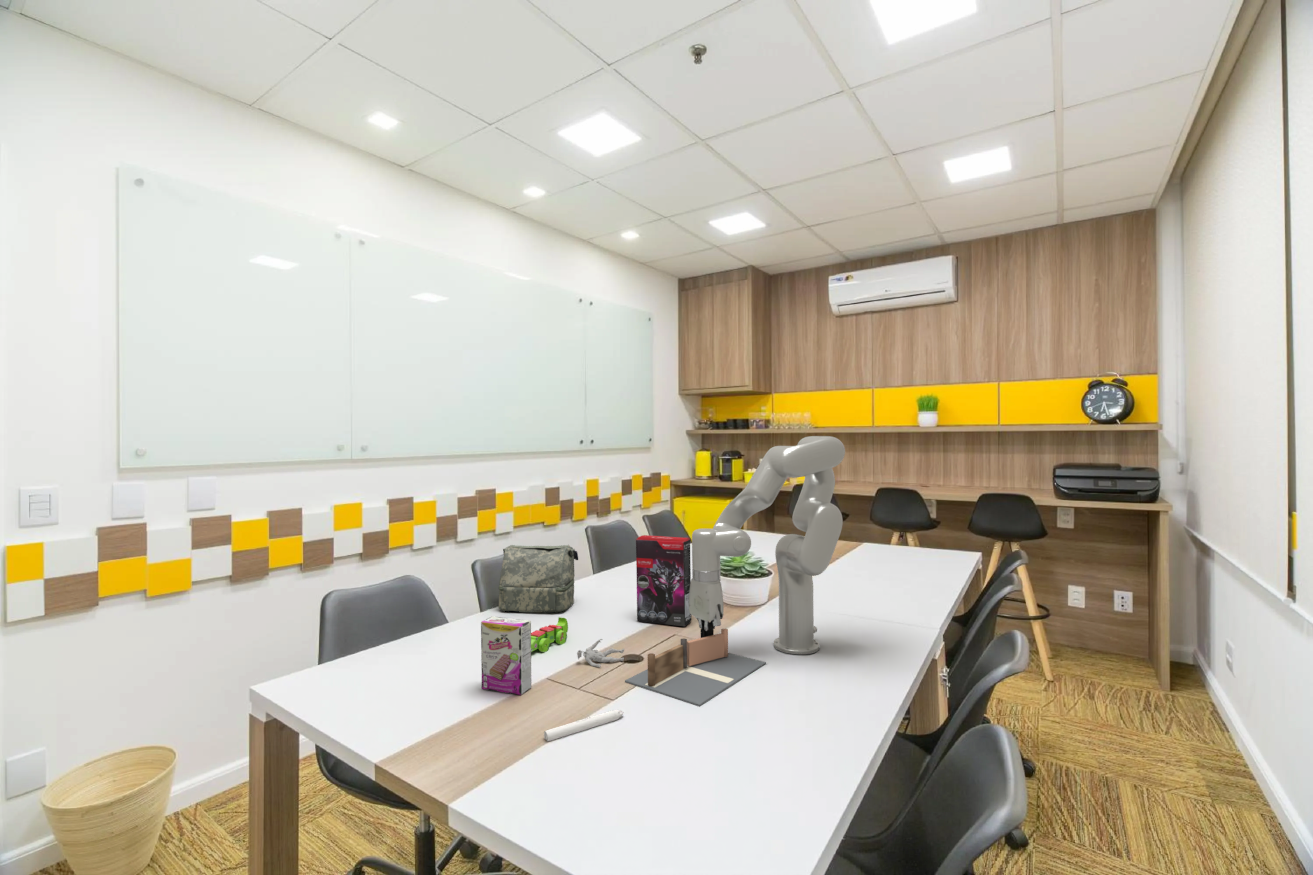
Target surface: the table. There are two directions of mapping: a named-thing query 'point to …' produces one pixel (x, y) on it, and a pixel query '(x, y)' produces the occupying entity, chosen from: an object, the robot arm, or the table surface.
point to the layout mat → (701, 679)
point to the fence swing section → (707, 648)
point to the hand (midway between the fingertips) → (707, 643)
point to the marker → (582, 725)
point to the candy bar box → (506, 655)
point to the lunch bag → (537, 578)
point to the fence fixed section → (667, 663)
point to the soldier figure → (599, 655)
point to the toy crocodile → (549, 635)
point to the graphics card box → (663, 580)
